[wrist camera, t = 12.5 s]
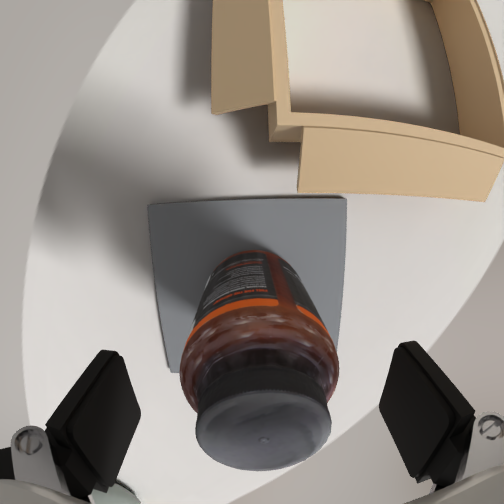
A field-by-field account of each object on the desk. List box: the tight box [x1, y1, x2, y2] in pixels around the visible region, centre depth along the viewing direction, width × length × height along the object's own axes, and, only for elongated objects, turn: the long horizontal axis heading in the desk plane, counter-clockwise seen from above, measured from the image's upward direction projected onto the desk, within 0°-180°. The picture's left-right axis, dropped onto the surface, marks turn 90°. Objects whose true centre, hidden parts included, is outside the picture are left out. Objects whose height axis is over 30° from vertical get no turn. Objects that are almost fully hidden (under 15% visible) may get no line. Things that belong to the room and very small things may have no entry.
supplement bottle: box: [179, 250, 339, 471], centre depth 12 cm, size 6×6×11 cm
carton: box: [211, 0, 504, 202], centre depth 12 cm, size 21×21×5 cm
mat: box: [148, 198, 347, 373], centre depth 18 cm, size 12×12×1 cm
